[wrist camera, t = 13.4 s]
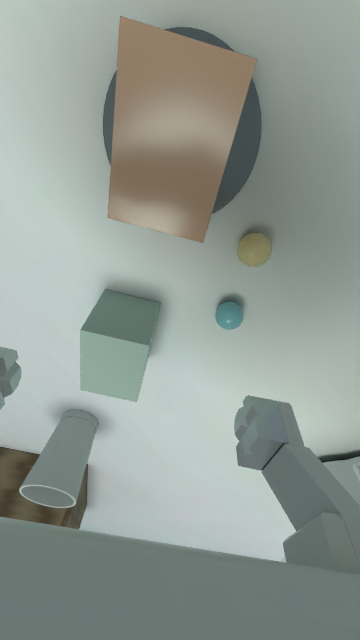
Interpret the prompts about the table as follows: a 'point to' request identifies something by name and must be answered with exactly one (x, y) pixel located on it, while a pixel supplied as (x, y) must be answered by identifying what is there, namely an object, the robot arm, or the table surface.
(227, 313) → the marble
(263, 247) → the marble
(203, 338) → the table surface
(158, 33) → the peach smooth rectangular block
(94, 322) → the pale green upright block
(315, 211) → the table surface
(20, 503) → the walnut planter box
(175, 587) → the robot arm
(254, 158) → the slate coaster
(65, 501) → the cup
